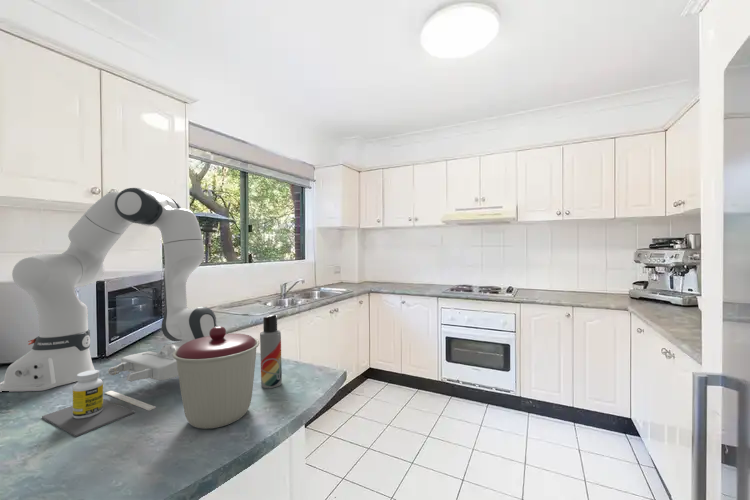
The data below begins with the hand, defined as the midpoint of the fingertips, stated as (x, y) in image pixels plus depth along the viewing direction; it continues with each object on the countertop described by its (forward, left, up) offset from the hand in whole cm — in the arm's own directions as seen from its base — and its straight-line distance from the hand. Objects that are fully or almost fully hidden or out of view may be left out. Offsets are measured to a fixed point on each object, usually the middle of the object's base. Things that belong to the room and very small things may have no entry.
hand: (118, 375), depth 82 cm
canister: (+27, -14, -8) cm, 31 cm away
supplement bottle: (-4, -5, -7) cm, 10 cm away
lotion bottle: (+37, +2, -8) cm, 38 cm away
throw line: (+1, +2, -7) cm, 8 cm away
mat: (-4, -5, -7) cm, 10 cm away
